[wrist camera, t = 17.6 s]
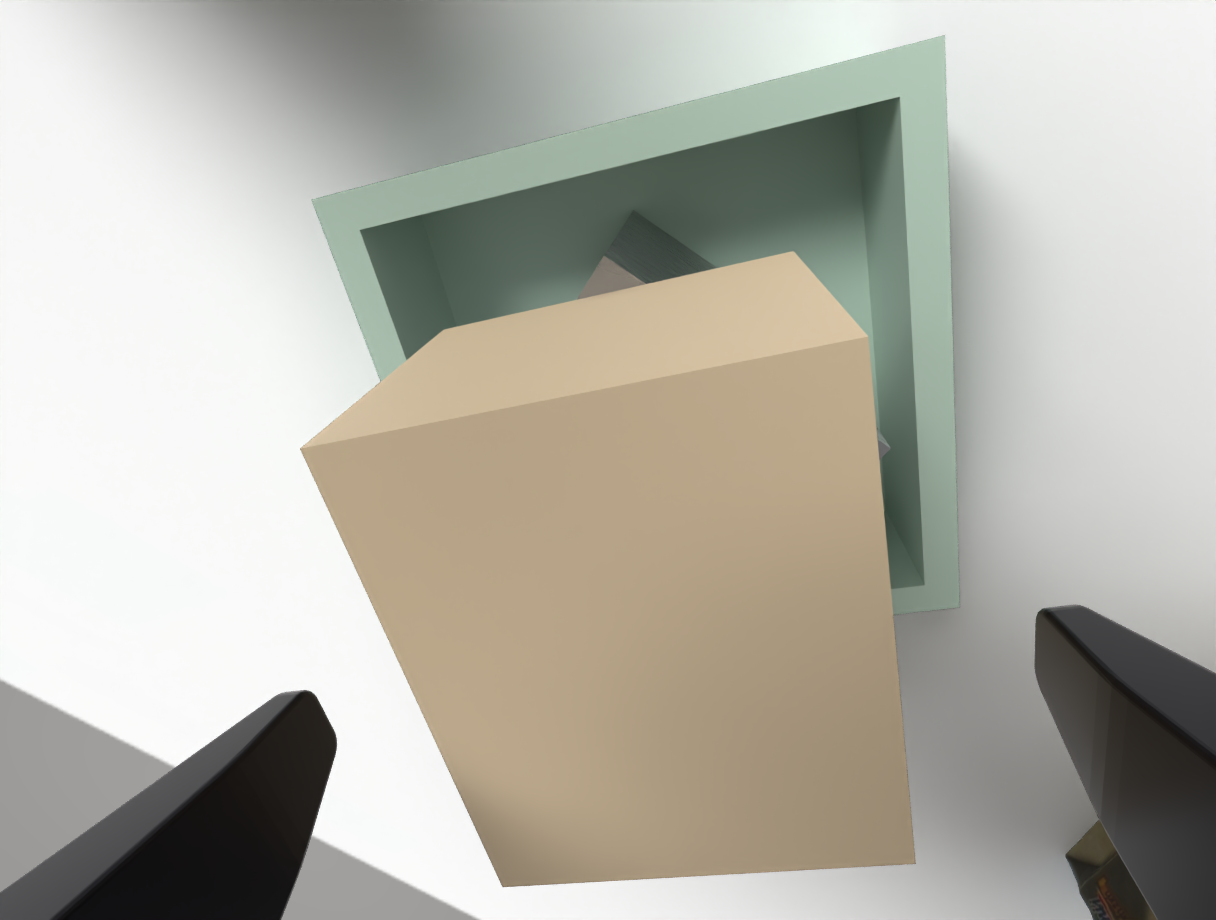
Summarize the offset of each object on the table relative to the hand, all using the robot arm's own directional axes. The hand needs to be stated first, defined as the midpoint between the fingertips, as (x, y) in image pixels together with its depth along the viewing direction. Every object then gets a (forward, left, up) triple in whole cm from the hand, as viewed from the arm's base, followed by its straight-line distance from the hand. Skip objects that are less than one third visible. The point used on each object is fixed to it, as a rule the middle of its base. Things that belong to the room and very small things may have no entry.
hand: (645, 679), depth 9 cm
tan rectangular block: (0, 0, -5) cm, 5 cm away
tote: (0, 0, -13) cm, 13 cm away
